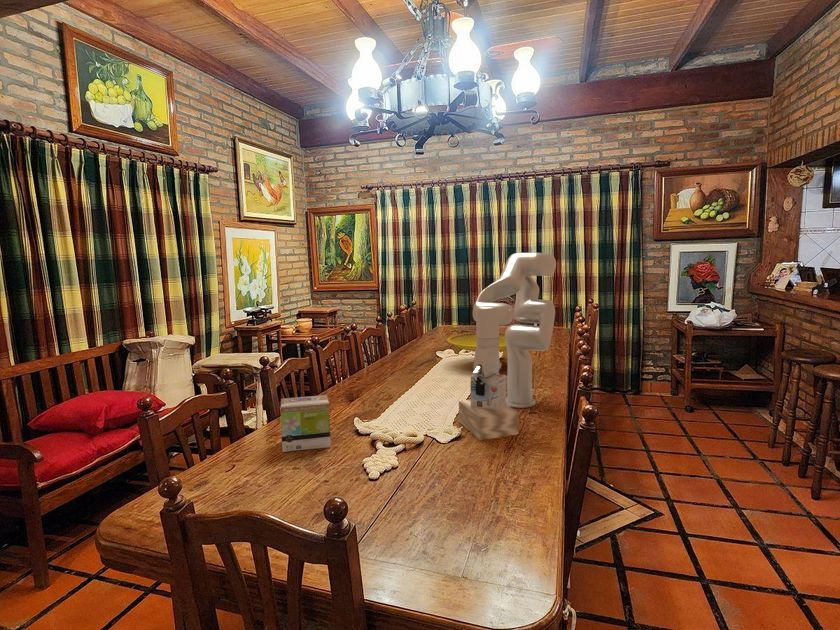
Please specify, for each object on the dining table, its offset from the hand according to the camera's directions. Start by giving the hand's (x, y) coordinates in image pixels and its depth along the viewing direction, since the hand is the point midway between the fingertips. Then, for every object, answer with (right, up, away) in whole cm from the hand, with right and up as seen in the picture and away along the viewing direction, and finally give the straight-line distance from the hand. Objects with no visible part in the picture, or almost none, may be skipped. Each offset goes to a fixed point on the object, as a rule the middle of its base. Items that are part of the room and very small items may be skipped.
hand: (487, 391), depth 162 cm
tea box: (-60, -16, -9) cm, 62 cm away
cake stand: (+11, -1, +86) cm, 86 cm away
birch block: (0, -13, +2) cm, 13 cm away
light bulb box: (0, -5, +1) cm, 5 cm away
